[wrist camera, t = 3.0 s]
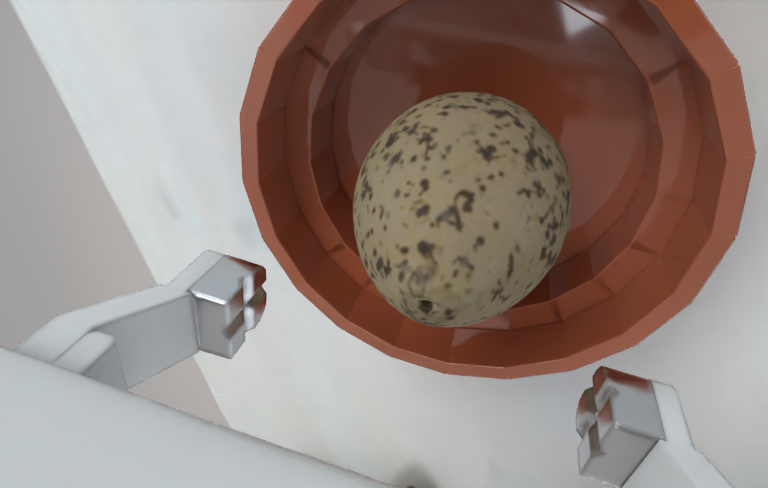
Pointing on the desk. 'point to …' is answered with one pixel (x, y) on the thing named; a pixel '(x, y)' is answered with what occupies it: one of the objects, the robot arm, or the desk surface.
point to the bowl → (563, 120)
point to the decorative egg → (461, 208)
